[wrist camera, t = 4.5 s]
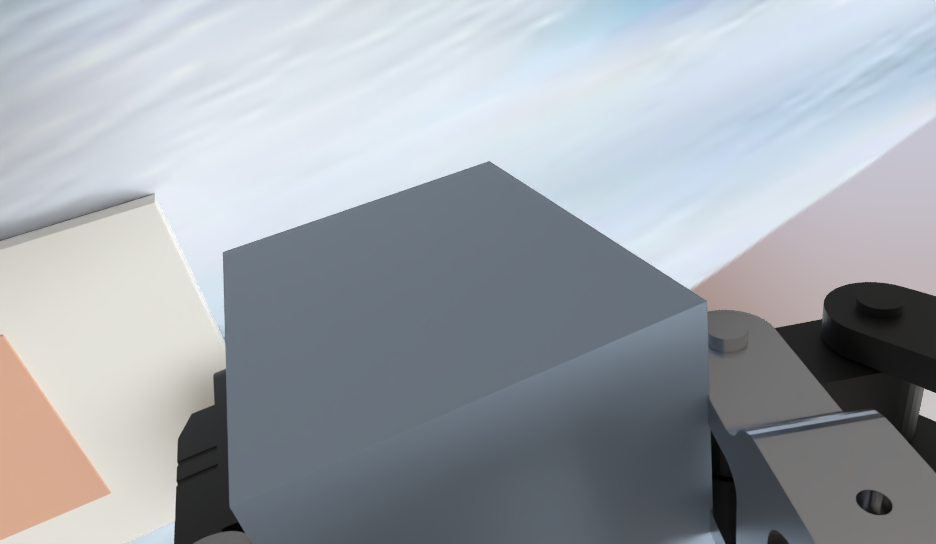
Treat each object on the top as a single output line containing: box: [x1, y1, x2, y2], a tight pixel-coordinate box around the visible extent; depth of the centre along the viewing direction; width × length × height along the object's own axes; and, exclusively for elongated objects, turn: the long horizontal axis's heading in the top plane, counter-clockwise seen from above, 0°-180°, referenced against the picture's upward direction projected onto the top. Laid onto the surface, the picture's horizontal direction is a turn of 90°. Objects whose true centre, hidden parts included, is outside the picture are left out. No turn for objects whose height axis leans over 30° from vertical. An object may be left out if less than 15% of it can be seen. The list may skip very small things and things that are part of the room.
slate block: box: [223, 161, 714, 544], centre depth 10 cm, size 5×5×6 cm
